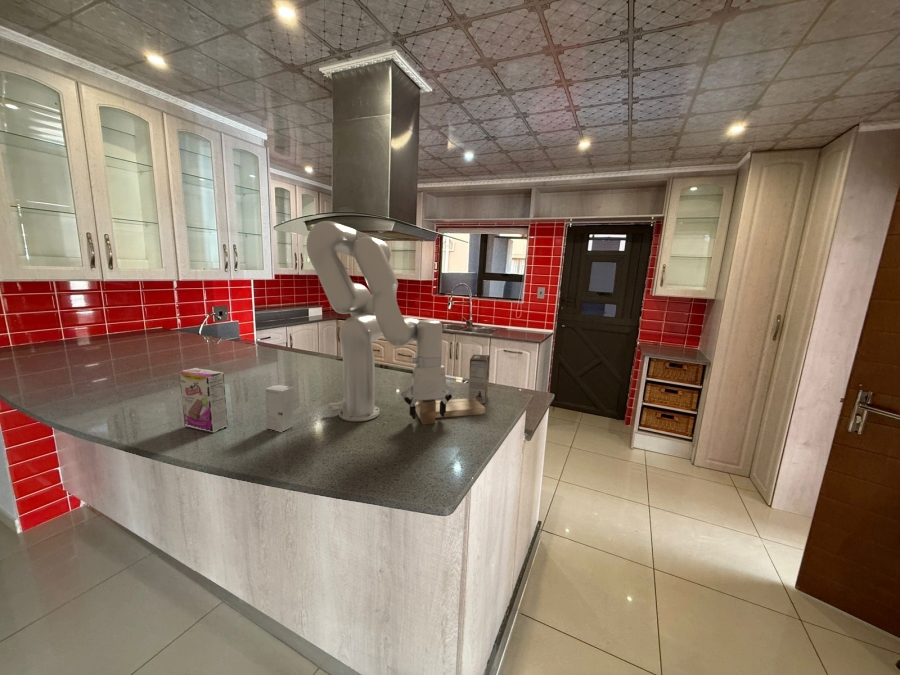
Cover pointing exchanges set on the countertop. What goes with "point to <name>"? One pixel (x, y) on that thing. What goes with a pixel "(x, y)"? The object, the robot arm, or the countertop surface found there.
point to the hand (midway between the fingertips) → (427, 416)
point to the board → (457, 408)
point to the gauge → (427, 411)
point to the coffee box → (479, 377)
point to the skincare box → (279, 407)
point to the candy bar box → (203, 398)
